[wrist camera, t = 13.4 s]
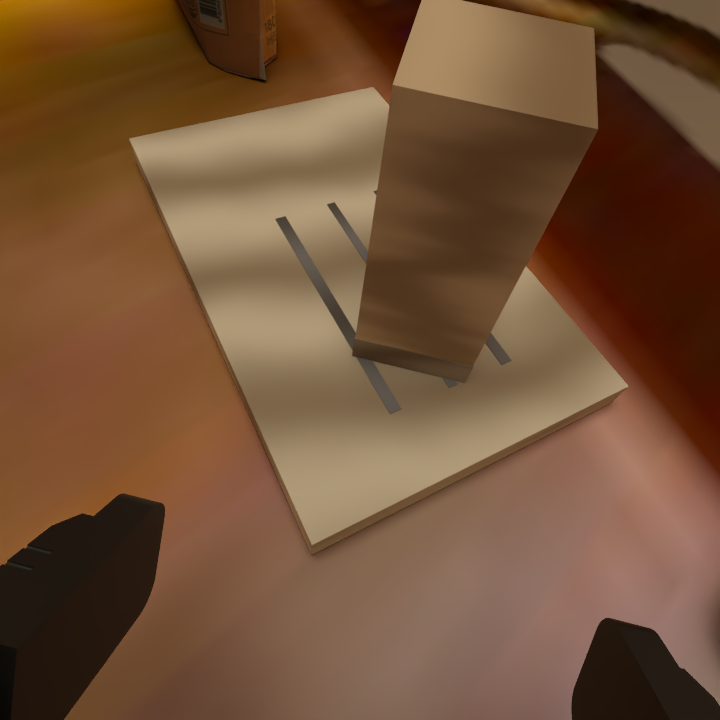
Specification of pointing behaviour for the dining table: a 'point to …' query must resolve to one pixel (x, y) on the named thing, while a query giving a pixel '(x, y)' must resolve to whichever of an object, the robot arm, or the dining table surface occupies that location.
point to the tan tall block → (469, 177)
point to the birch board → (346, 318)
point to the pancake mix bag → (235, 33)
